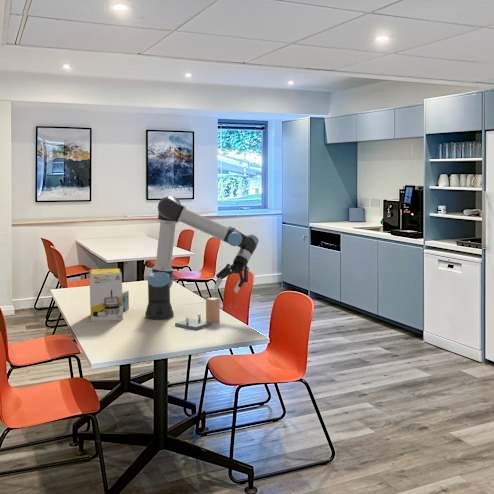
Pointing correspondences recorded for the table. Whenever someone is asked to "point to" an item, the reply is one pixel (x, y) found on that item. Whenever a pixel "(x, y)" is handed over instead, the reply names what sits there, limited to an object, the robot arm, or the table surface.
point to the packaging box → (106, 294)
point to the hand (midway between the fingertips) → (225, 290)
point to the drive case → (212, 310)
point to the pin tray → (193, 323)
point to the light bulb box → (125, 300)
